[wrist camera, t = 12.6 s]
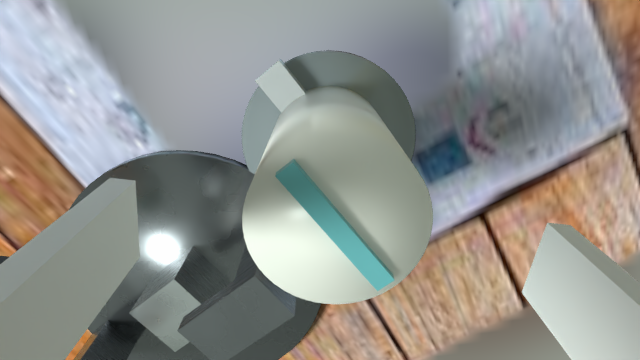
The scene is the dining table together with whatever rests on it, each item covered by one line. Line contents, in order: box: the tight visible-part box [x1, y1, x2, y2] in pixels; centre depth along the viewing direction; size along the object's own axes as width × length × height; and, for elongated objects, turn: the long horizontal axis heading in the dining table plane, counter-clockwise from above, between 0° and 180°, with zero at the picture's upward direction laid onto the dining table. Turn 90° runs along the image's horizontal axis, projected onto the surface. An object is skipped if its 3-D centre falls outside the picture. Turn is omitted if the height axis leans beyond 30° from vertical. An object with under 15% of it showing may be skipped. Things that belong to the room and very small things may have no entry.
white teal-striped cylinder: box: [242, 59, 433, 304], centre depth 20 cm, size 12×7×12 cm, turn 38°
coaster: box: [242, 51, 415, 174], centre depth 26 cm, size 11×11×1 cm
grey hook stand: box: [69, 150, 321, 360], centre depth 25 cm, size 19×19×10 cm
